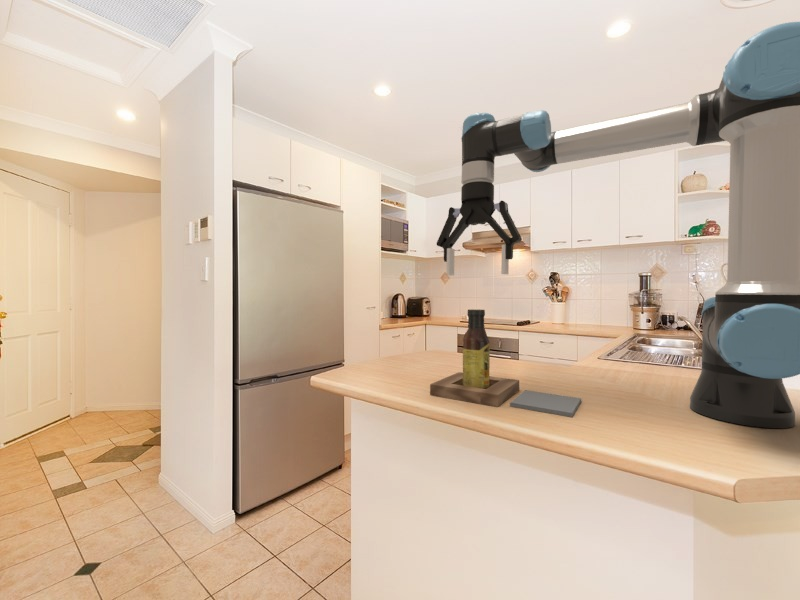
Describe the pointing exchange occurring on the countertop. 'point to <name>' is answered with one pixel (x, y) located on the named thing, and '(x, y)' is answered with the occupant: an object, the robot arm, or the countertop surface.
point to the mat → (547, 403)
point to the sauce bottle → (476, 351)
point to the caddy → (475, 390)
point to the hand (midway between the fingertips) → (476, 274)
